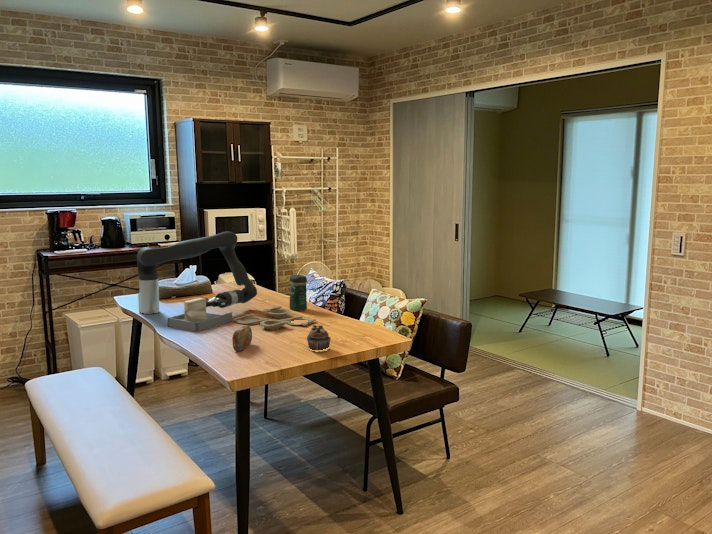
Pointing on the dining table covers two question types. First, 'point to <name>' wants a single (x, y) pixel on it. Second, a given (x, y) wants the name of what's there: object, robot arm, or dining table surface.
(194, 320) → the birch block
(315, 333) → the cupcake
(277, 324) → the tableware set
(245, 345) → the brown flat stone
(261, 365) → the dining table surface
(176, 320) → the grey tray
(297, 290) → the coffee jar
